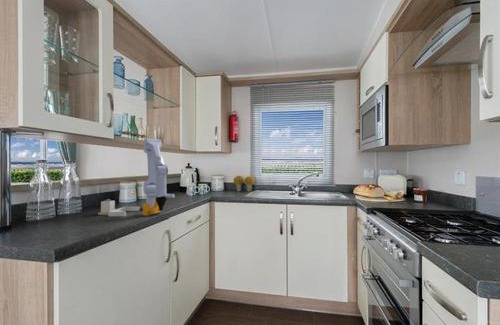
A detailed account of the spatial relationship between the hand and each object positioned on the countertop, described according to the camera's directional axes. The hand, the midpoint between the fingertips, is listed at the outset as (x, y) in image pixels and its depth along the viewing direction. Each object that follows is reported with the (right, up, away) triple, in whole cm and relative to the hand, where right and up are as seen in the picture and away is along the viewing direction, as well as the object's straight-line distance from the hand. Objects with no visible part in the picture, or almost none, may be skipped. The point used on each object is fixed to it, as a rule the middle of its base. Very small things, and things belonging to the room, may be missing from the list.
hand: (161, 210), depth 141 cm
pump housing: (-30, -2, 0) cm, 30 cm away
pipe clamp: (-6, -2, -1) cm, 6 cm away
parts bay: (-20, -2, 0) cm, 20 cm away
